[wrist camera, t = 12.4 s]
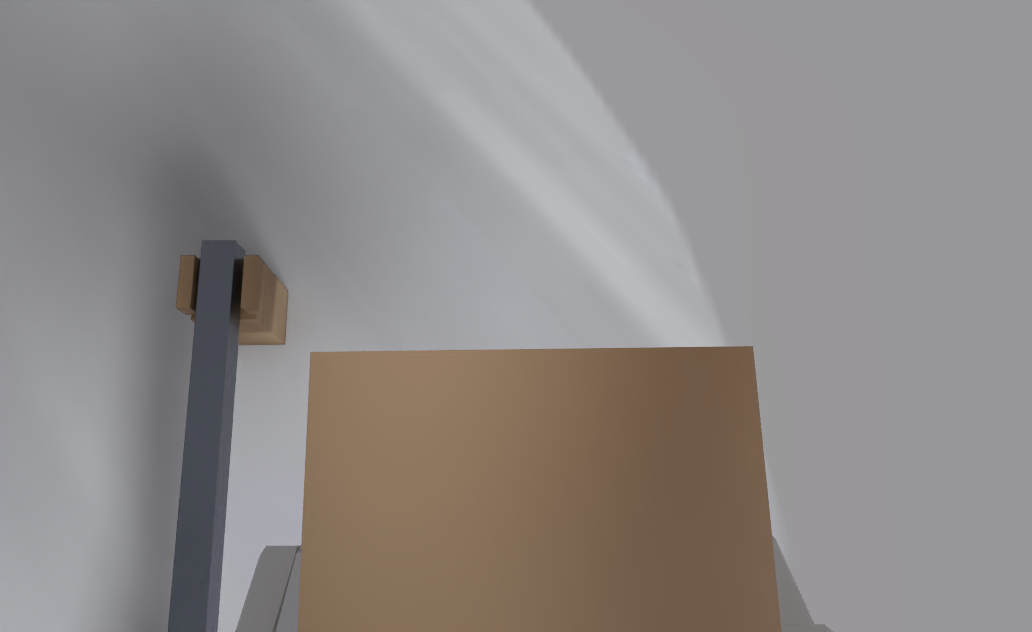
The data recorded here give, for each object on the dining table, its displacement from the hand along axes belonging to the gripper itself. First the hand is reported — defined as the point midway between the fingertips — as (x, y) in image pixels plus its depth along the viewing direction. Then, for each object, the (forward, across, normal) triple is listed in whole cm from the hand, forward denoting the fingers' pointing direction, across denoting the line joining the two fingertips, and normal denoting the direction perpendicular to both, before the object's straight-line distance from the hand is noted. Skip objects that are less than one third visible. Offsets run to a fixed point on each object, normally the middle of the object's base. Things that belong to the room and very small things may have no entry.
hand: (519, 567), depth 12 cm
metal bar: (+11, +10, +11) cm, 19 cm away
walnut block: (+4, 0, +4) cm, 5 cm away
